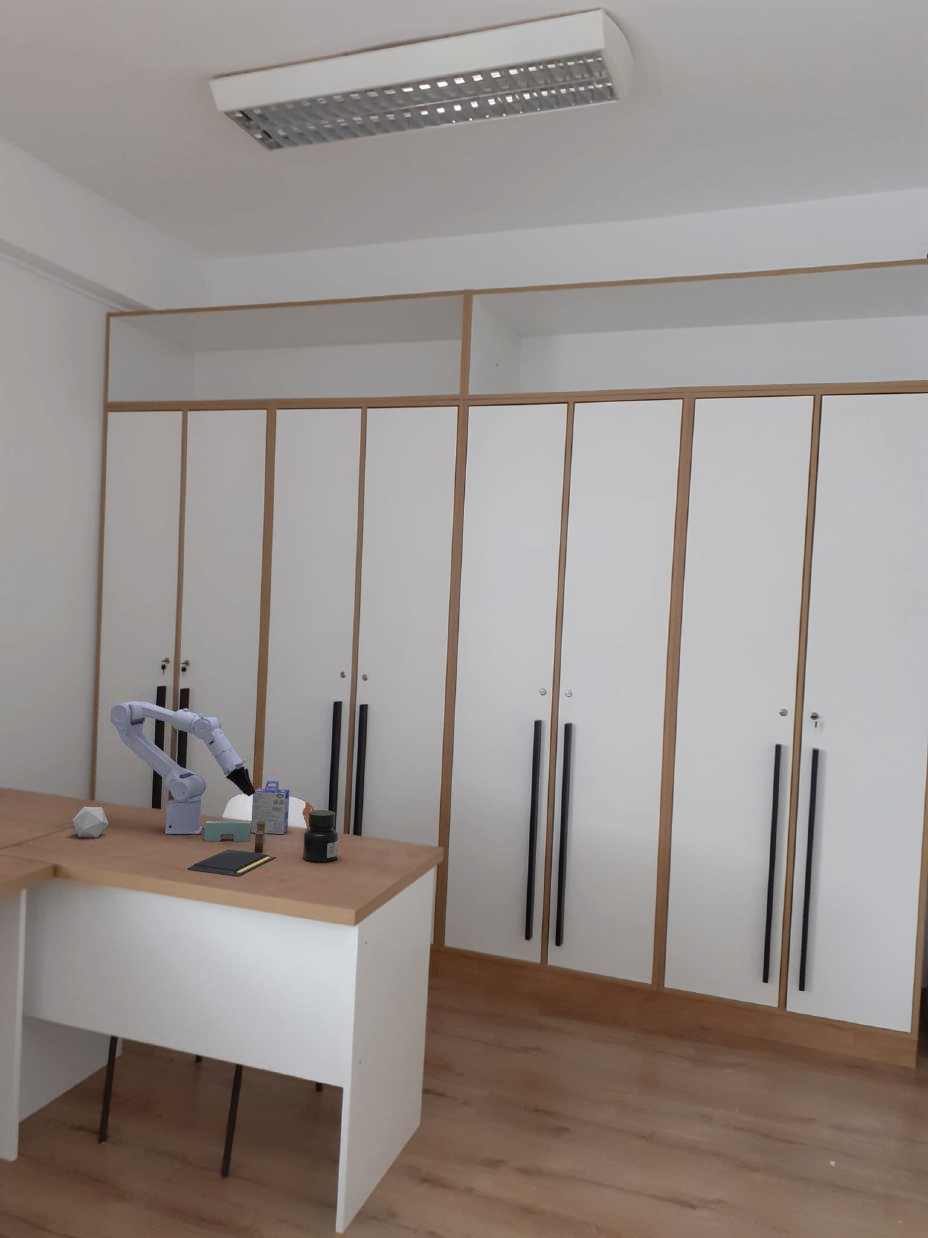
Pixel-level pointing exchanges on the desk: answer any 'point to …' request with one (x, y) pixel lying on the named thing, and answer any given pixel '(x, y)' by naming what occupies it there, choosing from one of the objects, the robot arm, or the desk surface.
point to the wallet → (232, 863)
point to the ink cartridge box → (271, 809)
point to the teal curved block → (227, 830)
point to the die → (90, 822)
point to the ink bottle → (321, 837)
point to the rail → (259, 837)
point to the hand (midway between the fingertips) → (250, 793)
